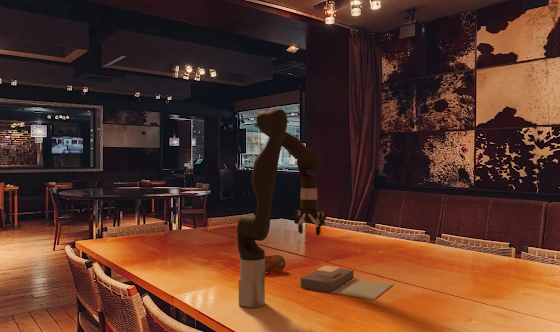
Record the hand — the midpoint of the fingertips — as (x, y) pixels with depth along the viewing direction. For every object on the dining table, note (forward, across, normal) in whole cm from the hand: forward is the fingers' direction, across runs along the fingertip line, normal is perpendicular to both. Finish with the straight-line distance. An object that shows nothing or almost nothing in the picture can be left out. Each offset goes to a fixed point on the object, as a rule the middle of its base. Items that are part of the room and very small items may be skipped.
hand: (309, 234), depth 192 cm
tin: (+21, -23, +2) cm, 31 cm away
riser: (+21, +9, 0) cm, 23 cm away
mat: (+21, +25, 0) cm, 33 cm away
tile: (+17, +9, 0) cm, 19 cm away
